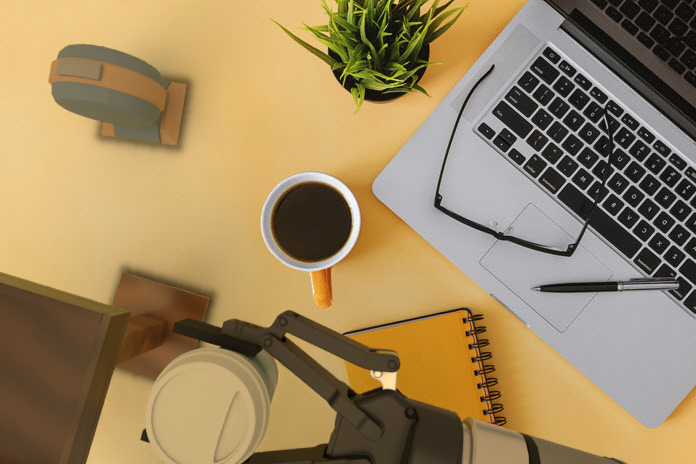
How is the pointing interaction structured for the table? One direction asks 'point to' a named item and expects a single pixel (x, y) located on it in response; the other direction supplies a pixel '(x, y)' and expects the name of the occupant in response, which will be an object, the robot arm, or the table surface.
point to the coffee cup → (211, 406)
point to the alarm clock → (118, 93)
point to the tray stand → (155, 323)
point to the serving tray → (53, 370)
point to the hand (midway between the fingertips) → (165, 376)
